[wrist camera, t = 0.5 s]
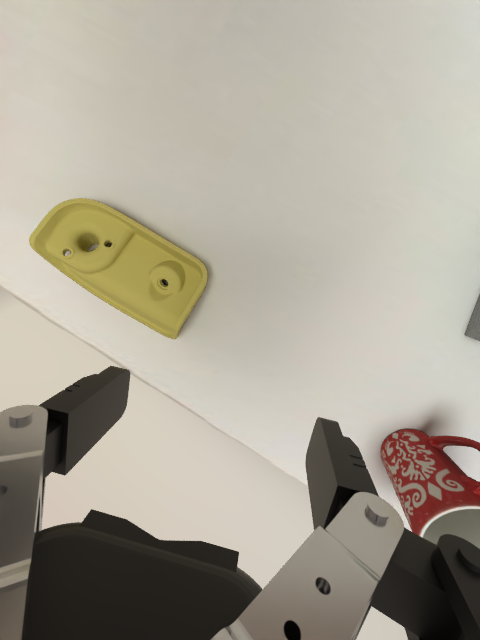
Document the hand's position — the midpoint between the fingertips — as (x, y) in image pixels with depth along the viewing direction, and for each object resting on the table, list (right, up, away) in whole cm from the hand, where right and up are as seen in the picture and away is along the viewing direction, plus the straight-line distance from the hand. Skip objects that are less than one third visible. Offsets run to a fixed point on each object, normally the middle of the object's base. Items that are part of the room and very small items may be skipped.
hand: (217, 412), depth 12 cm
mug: (+25, -13, +28) cm, 40 cm away
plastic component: (-13, +11, +28) cm, 33 cm away
